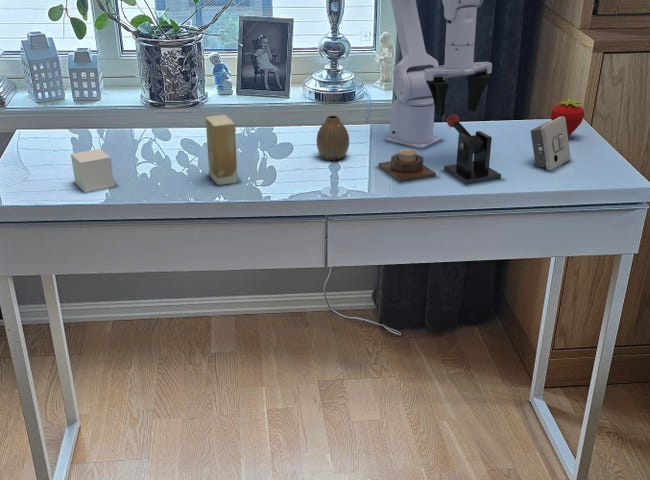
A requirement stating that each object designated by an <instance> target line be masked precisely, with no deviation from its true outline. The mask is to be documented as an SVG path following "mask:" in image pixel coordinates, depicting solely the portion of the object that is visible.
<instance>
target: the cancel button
mask: <svg viewBox="0 0 650 480" xmlns="http://www.w3.org/2000/svg"><path fill="white" fill-rule="evenodd" d="M397 154H398V160H399V161H403V162H413V161H416V154H417V151H416V150H414V149H411V148H410V149H409V148H404V149H400V150H399V151H398V153H397Z"/></svg>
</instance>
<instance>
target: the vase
mask: <svg viewBox="0 0 650 480" xmlns="http://www.w3.org/2000/svg"><path fill="white" fill-rule="evenodd" d="M349 147H350V136H349V132H348V130H347V128H346V127H345V125H344V123H342V121H341V119H340V117H339V116H338V115H336V114H335V115H334V114H331V115H327V117H326V119H325V121H324V122H323V123H322V124H321V125H320V127H319V129H318V131H317V134H316V148H317V151H318V153H319V155H320V156H321V157H322V158H323V159H324V160H326V161H339V160H341V159H342V158H344V157H345V156H346V155H347V153H348V150H349Z"/></svg>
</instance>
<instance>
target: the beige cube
mask: <svg viewBox="0 0 650 480" xmlns="http://www.w3.org/2000/svg"><path fill="white" fill-rule="evenodd" d="M70 159H71V165H72V170H73V177H74V183H75V185H77V186H78V188H80V189H81V190H82V191H83V192H84V193H89V192H93V191H99V190H104V189H110V188H113V187H114V188H115V180H114V179H115V178H114V173H113V172H114V171H113V165H112V158H111V156H110V155H108V154H107V153H106V152H105V151H104V150H103V149H102V148H96V149H90V150H86V151H85V150H84V151H79V152H74V153H70Z"/></svg>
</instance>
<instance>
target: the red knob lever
mask: <svg viewBox="0 0 650 480" xmlns="http://www.w3.org/2000/svg"><path fill="white" fill-rule="evenodd" d="M446 124H447V126H448V127H449V128H454V129H455V130H456V132H457V133H458V134H465V135H467V136H468V137H470V138H472V139H474V150H473V155H474V154H475V153H481V151H482V147H483V143H484V142H483V141H482V140H481V139H480V138H479V137H478V135H476V134H474V135H473V134H472V135H471V134H470V132H469V131H468V130H467V129H466V128H465V127H464V125H462V124H461V123H460V117H459V116H458V115H457V114H450V115H448V117H447V118H446Z"/></svg>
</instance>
